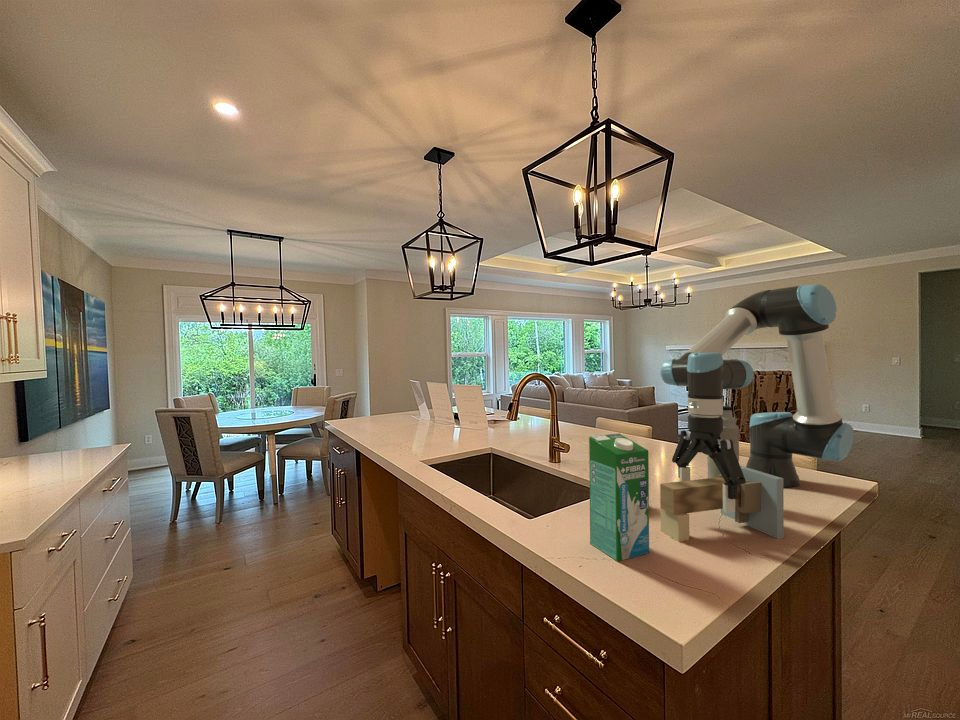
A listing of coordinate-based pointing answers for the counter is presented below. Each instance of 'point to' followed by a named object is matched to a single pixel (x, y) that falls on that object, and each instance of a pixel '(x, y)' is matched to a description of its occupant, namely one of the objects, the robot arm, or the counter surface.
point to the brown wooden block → (694, 495)
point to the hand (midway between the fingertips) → (705, 501)
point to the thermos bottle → (728, 433)
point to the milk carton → (619, 496)
